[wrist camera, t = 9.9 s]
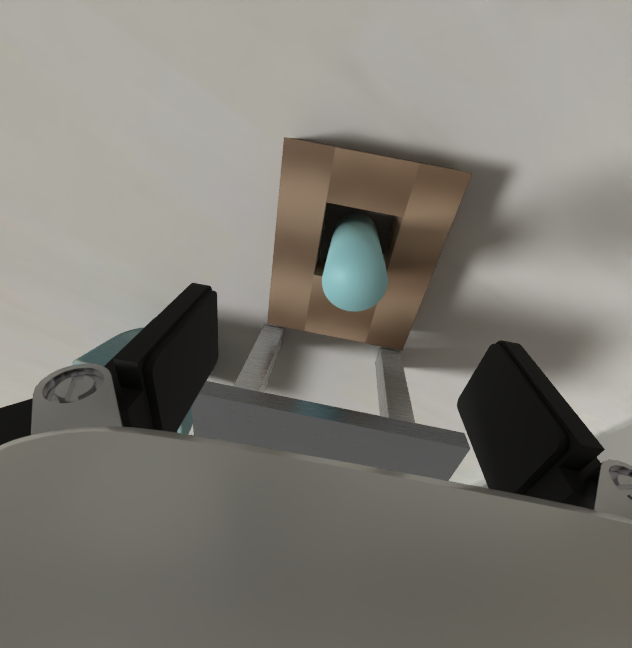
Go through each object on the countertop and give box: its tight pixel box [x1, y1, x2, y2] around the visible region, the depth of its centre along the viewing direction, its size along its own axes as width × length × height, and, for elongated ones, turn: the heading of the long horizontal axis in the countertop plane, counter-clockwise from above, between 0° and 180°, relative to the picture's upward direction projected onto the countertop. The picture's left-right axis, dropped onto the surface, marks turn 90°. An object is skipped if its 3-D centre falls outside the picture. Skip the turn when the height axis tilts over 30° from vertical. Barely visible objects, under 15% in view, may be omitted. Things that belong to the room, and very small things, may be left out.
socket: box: [267, 138, 471, 350], centre depth 24 cm, size 14×12×4 cm
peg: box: [322, 213, 388, 312], centre depth 21 cm, size 4×4×10 cm
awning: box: [192, 325, 470, 481], centre depth 24 cm, size 6×15×14 cm, turn 80°
